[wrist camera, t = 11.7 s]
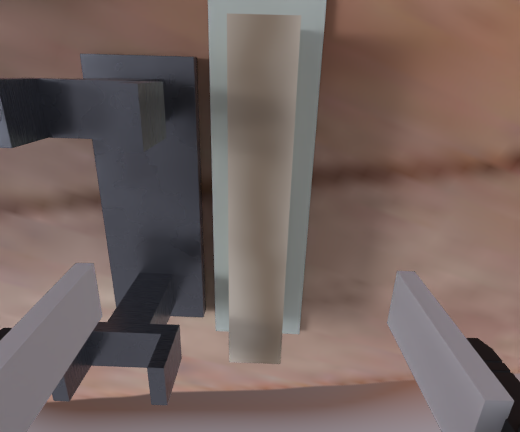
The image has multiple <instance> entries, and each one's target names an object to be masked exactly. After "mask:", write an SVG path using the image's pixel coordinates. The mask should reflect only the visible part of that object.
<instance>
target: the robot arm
mask: <svg viewBox="0 0 520 432" xmlns="http://www.w3.org/2000/svg"><path fill="white" fill-rule="evenodd" d="M101 317H102V311H101V305H100V299H99V293H98V287H97V280H96V274H95V268H94V263H75V264H74V265H73V266H72V267H71V268H70V269H69V271H68V272H67V273H66V274H65V275H64V276H63V277H62V278H61V279H60V280H59V281H58V282H57V283H56V284H55V285H54V286H53V287H52V288H51V289H50V290H49V291H48V292H47V293H46V294H45V295H44V296H43V297H42V298H41V299H40V300H39V301H38V302H37V303H36V304H35V305H34V306H33V307H32V308H31V310H30V311H29V312H28V313H27V314H26V315H25V316H24V317H23V318H22V319H21V320H20V321H19V322H18V323H17V324H16V325H15V326H14V327H13V328H3V329H1V330H0V432H27V431H28V429H29V428H30V426H31V424H32V423H33V422H34V420H35V418H36V417H37V415H38V414H39V412H40V411H41V409H42V408H43V406H44V405H45V403H46V402H47V400H48V399H49V397H50V396H51V394H52V392H53V391H54V389H55V388H56V386H57V385H58V383H59V382H60V380H61V379H62V377H63V376H64V374H65V373H66V371H67V369H68V368H69V366H70V365H71V363H72V362H73V360H74V359H75V357H76V356H77V354H78V353H79V351H80V350H81V348H82V347H83V345H84V343H85V342H86V340H87V339H88V337H89V336H90V334H91V333H92V331H93V330H94V328H95V327H96V325H97V324H98V322H99V321H100V319H101ZM387 324H388V326H389V328H390V330H391V332H392V334H393V336H394V338H395V340H396V342H397V344H398V346H399V348H400V350H401V352H402V354H403V356H404V358H405V360H406V362H407V364H408V366H409V368H410V370H411V372H412V374H413V376H414V378H415V380H416V382H417V384H418V385H419V387H420V390H421V392H422V394H423V396H424V398H425V400H426V402H427V404H428V406H429V408H430V410H431V411H432V414H433V416H434V417H435V420H436V422H437V424H438V426H439V428H440V430H441V431H442V432H520V382H519V380H518V379H517V378H516V377H515V376H514V374H513V373H510V370H509V368H508V367H507V366H506V365H505V364H504V363H502V360H501V359H500V358H499V356H498V355H497V354H496V353H495V352H494V351H493V349H492V348H490V347H489V346H488V345H486V344H485V343H483V342H482V341H481V340H479V339H478V338H466V337H465V336H464V335H463V334H462V332H461V331H460V330H459V328H458V327H457V326H456V324H455V323H454V322H453V321H452V319H451V318H450V317H449V315H448V314H447V313H446V311H445V310H444V309H443V308H442V306H441V305H440V304H439V302H438V301H437V300H436V298H435V297H434V296H433V295H432V293H431V292H430V291H429V289H428V288H427V287H426V285H425V284H424V283H423V282H422V280H421V279H420V278H419V276H418V275H417V274H416V272H415V271H397V274H396V279H395V284H394V290H393V295H392V300H391V305H390V310H389V316H388V321H387Z"/></svg>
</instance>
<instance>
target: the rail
mask: <svg viewBox="0 0 520 432" xmlns="http://www.w3.org/2000/svg"><path fill="white" fill-rule="evenodd" d="M300 28H301V15H266V14H228V13H227V118H228V265H229V362H241V363H267V364H280V361H281V344H282V327H283V311H284V294H285V278H286V261H287V244H288V228H289V211H290V195H291V178H292V161H293V145H294V128H295V111H296V95H297V78H298V62H299V45H300Z"/></svg>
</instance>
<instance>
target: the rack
mask: <svg viewBox="0 0 520 432" xmlns="http://www.w3.org/2000/svg"><path fill="white" fill-rule="evenodd" d="M80 58H81V65H82V72H83V79H53V78H0V148H14V147H17V146H21V145H24V144H27V143H31V142H34V141H38V140H41V139H45V138H48V137H50V138H82V139H92V141H93V148H94V155H95V162H96V169H97V176H98V183H99V190H100V197H101V204H102V211H103V218H104V225H105V232H106V239H107V246H108V253H109V259H110V266H111V273H112V280H113V287H114V294H115V301H116V309H115V311H114V312H113V314H112V316H111V317H110V319H109V320H108V322H98V324H97V325H96V327H95V328H94V330H93V331H92V333H91V334H90V336H89V337H88V339H87V340H86V342H85V343H84V345H83V347H82V348H81V350H80V351H79V353H78V354H77V356H76V357H75V359H74V360H73V362H72V363H71V365H70V366H69V368H68V369H67V371H66V373H65V374H64V376H63V377H62V379H61V380H60V382H59V383H58V385H57V386H56V388H55V389H54V391H53V392H52V396H53V400H54V401H70V399H71V398H72V396H73V395H74V393H75V391H76V390H77V388H78V386H79V385H80V383H81V381H82V380H83V378H84V377H85V375H86V373H87V372H88V370H89V368H90V367H91V365H92V366H117V367H143V368H147V370H148V379H149V388H150V396H151V404H152V405H167V404H168V401H169V398H170V394H171V391H172V388H173V385H174V382H175V378H176V375H177V372H178V369H179V366H180V362H181V359H182V356H181V341H180V327H179V325H168V324H167V322H168V320H169V317H170V316H184V317H204V314H205V310H206V304H205V275H204V247H203V218H202V190H201V161H200V133H199V104H198V76H197V58H196V57H180V56H144V55H107V54H80Z"/></svg>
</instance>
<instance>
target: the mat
mask: <svg viewBox="0 0 520 432" xmlns="http://www.w3.org/2000/svg"><path fill="white" fill-rule="evenodd" d="M326 1H327V0H208V25H209V68H210V110H211V153H212V195H213V238H214V280H215V323H216V331H229V265H228V118H227V13H228V14H266V15H301V28H300V45H299V62H298V78H297V95H296V111H295V128H294V145H293V161H292V178H291V195H290V211H289V228H288V244H287V261H286V278H285V294H284V311H283V327H282V333H284V334H299V331H300V319H301V306H302V294H303V282H304V270H305V258H306V245H307V233H308V221H309V209H310V196H311V184H312V172H313V160H314V148H315V135H316V123H317V111H318V99H319V86H320V74H321V62H322V50H323V38H324V25H325V13H326Z"/></svg>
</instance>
